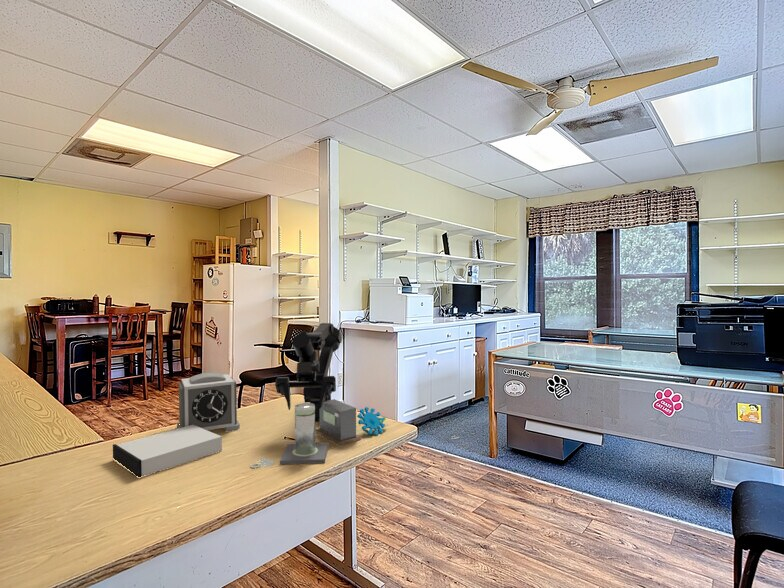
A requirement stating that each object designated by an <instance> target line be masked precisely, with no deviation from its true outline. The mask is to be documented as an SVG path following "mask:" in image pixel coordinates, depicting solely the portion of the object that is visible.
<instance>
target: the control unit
mask: <svg viewBox="0 0 784 588" xmlns="http://www.w3.org/2000/svg"><path fill="white" fill-rule="evenodd" d="M315 432H316V433H315V434H317V435H318V436H320V435H321V436H320V437H322V436H323V438H324V439H326V440H328V441H329V440H330V442H331V443H333V444H335V445H336V446H339V447H340V446H343V445H346V444H349V443H353V442H357V441H361V437H362V436H361V435H360V434H357V407H354V406H352V405H349V404H347V403H345V402H342V401H340V400H337V399H331V400H328V401H324V402H323V404H322V406H321V408H320V421H319V428H317V429H316V428H315Z"/></svg>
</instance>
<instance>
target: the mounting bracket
mask: <svg viewBox="0 0 784 588" xmlns="http://www.w3.org/2000/svg"><path fill="white" fill-rule="evenodd" d="M256 460H257V461H259V460H261V461H260V462H258V463H261V464H256V463H255V462H254V461H253V463H252V464H250V466H249V468H250V469H251V470H254V469H255V468H256V469H259V468H262V467H263V466H264V465H266V466H264V467H266V468H268V467H270V466H272V465H275V464H276V462H275V461H273V460H270V459H267V458H264V457H263V458H258V459H256ZM262 461H263V462H262ZM264 463H265V464H264ZM254 465H255V466H254ZM257 465H258V466H257ZM261 465H262V466H261ZM260 466H261V467H260Z"/></svg>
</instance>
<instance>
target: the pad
mask: <svg viewBox="0 0 784 588" xmlns="http://www.w3.org/2000/svg"><path fill="white" fill-rule="evenodd" d="M328 449H329V442H317V443H316V442H315V452H313V453H311V454H307V455H299V454H296V453H295V443H287V445H286V447H285V449H284V450H283V453H282V455H281V457H280V460H279V465H303V464H305V463H308V464H325V462H326V458H327V454H328Z"/></svg>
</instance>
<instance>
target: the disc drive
mask: <svg viewBox="0 0 784 588" xmlns="http://www.w3.org/2000/svg"><path fill="white" fill-rule="evenodd" d="M222 438H223V436H222V435H219V434H218V433H215V432H212V431H210V430H205V429H202V428H200V427H198V426H195V425H190V426H186V427H182V428H178V429H177V428H175V429H171V430H166V431H164V432H159V433H157V434H152V435H148V436H144V437H141V438H137V439H133V440H130V441H126V442H122V443H118V444H116V443H114V444H112V459H113V458H114V459H115V460H117V461H118V462H119V463H121V464H122V465H123V466H125V467H126V468H127V469H129V470H130V471H131V472H133V473H134V474H135V475H136V476H138V477H141V476H144V475H148V474H151V473H154V472H157V471H160V470H163V469H166V470H168V469H167V468H169V469H171V468H170V467H172V468H174V466H175V467H178V466H181V465H184V464H187V463H190V462H193V461H196V460H199V459H202V458H205V457H208V456H210V455H209V454H211V455H213V454H212V453H214V454H217V453H219V452H218V451H220V452H222V451H223V439H222ZM221 450H222V451H221ZM216 452H217V453H216ZM207 455H208V456H207ZM204 456H205V457H204ZM201 457H202V458H201ZM177 465H178V466H177ZM163 471H164V470H163ZM160 472H161V471H160ZM157 473H158V472H157ZM154 474H155V473H154ZM151 475H152V474H151ZM136 476H135V477H136ZM148 476H149V475H148Z"/></svg>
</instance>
